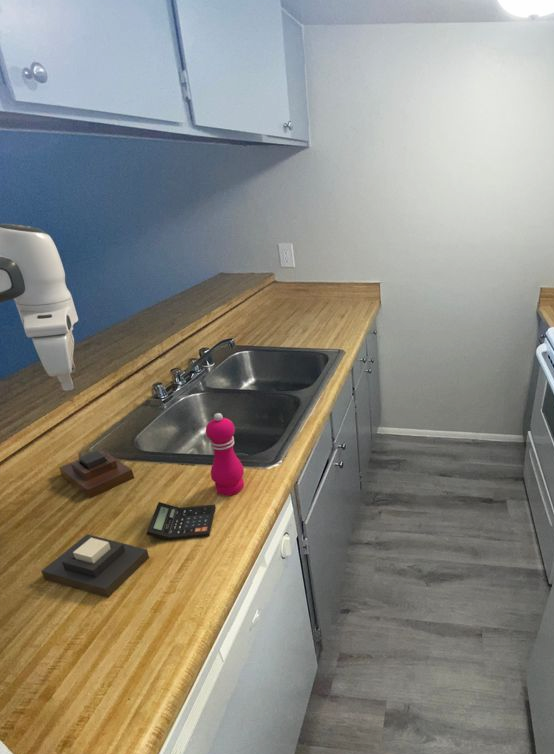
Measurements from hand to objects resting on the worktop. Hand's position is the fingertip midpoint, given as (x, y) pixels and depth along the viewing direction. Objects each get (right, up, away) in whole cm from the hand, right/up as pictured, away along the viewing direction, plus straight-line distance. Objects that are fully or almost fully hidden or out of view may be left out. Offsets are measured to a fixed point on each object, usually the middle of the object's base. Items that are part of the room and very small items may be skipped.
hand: (69, 380), depth 97 cm
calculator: (+22, -31, +3) cm, 38 cm away
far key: (-5, -19, +15) cm, 24 cm away
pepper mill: (+27, -25, +15) cm, 40 cm away
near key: (+11, -33, -10) cm, 36 cm away
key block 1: (-5, -22, +16) cm, 28 cm away
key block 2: (+11, -36, -8) cm, 39 cm away
